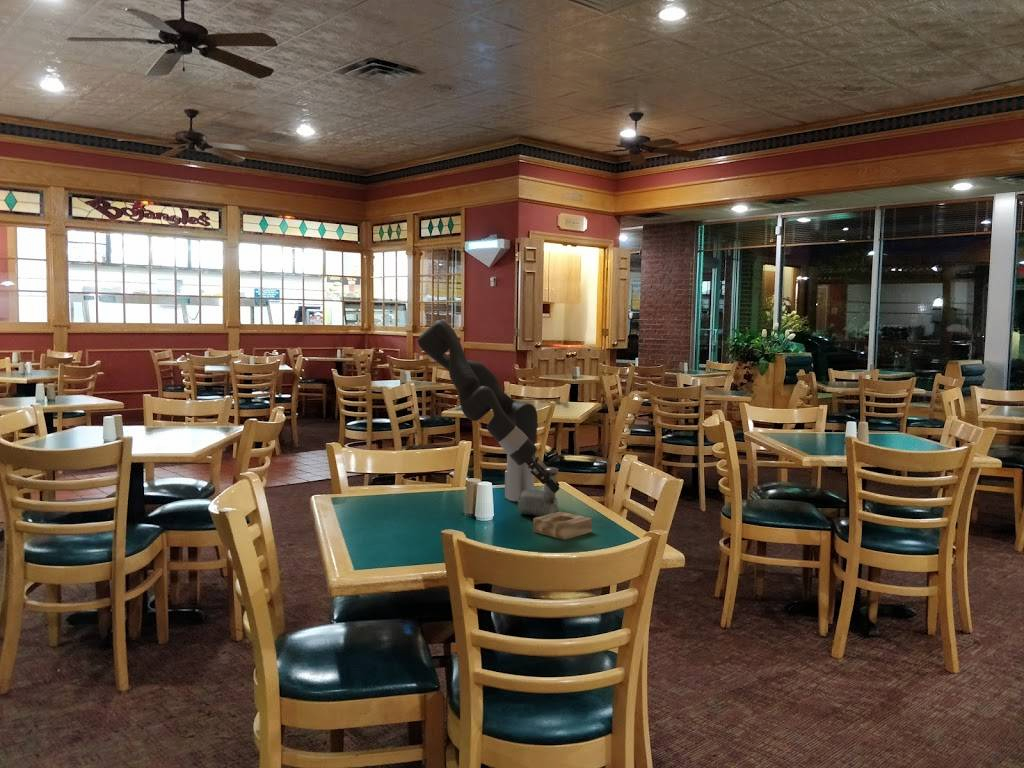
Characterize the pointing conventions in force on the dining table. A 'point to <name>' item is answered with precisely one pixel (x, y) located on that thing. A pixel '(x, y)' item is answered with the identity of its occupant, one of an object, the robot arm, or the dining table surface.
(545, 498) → the pin
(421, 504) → the dining table surface
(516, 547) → the dining table surface
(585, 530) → the block
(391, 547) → the dining table surface
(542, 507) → the grey rounded rock
